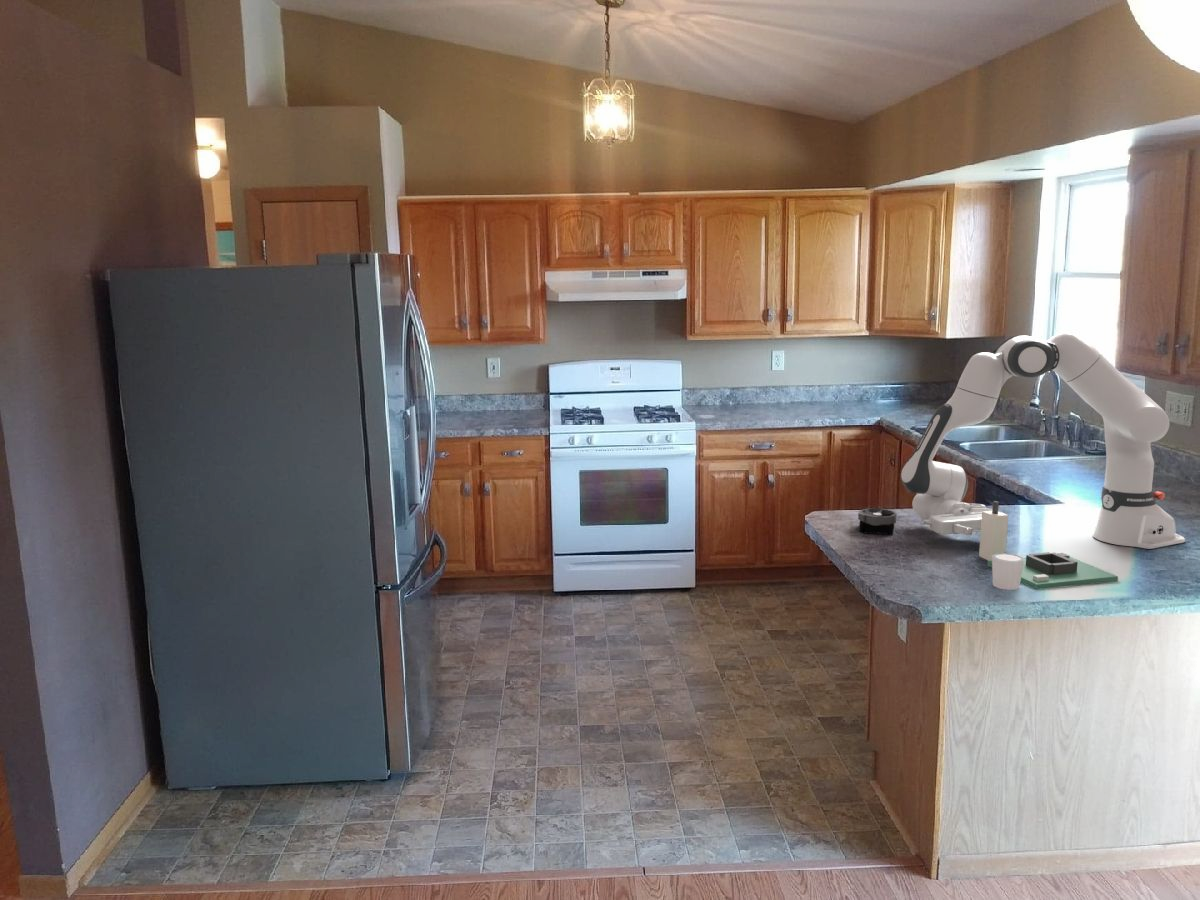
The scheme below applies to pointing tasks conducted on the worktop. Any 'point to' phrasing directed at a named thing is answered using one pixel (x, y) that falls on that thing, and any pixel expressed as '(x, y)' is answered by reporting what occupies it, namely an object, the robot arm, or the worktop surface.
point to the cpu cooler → (877, 521)
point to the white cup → (1007, 570)
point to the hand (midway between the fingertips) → (986, 530)
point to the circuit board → (1059, 571)
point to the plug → (993, 532)
